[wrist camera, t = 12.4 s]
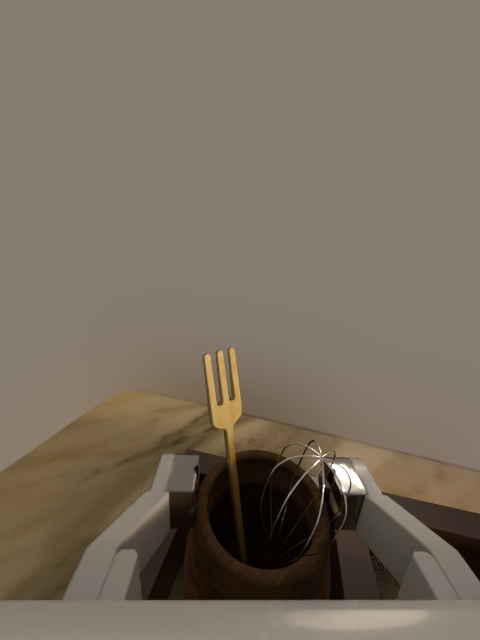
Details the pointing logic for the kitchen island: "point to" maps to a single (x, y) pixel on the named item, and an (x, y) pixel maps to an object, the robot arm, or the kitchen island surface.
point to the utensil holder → (257, 517)
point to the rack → (345, 552)
